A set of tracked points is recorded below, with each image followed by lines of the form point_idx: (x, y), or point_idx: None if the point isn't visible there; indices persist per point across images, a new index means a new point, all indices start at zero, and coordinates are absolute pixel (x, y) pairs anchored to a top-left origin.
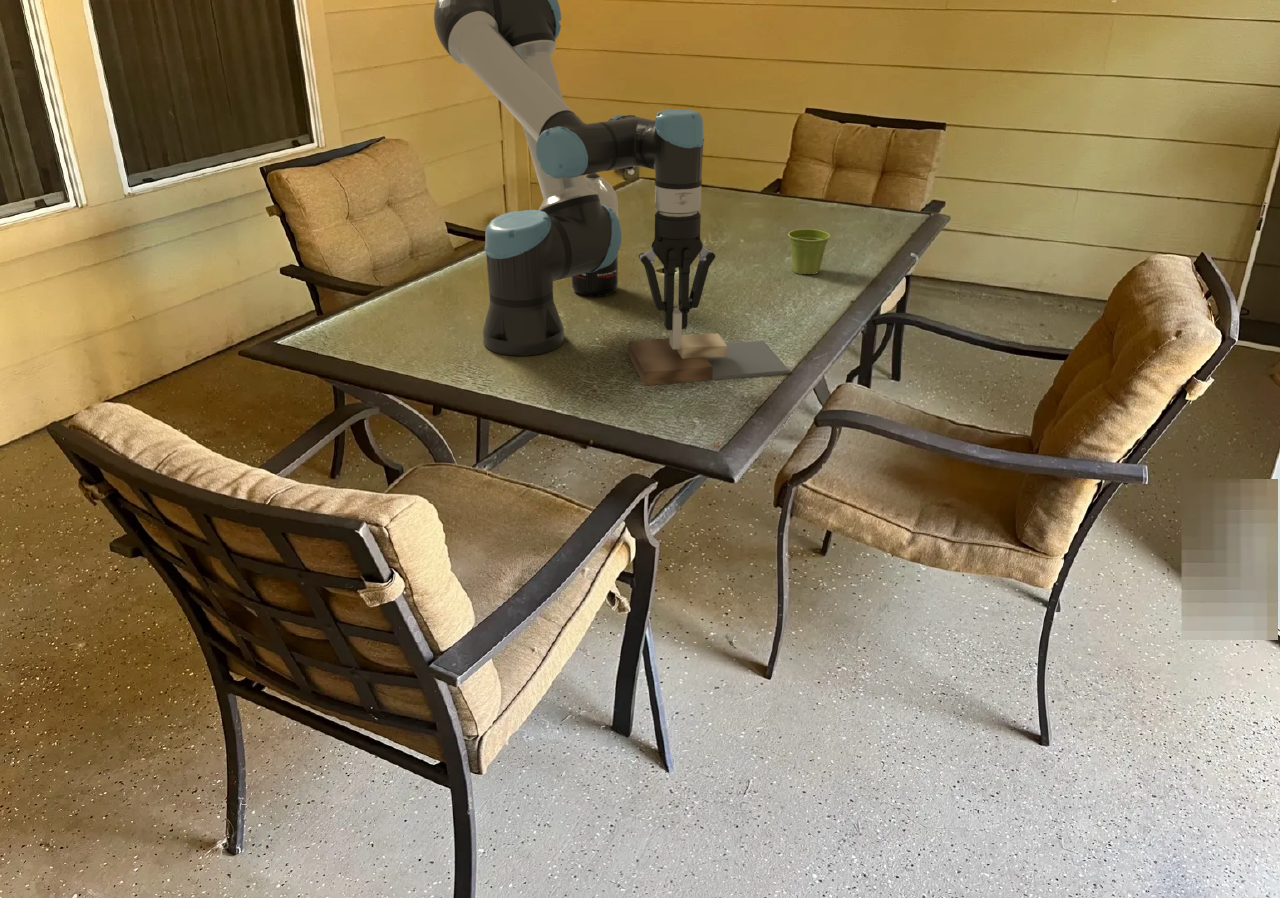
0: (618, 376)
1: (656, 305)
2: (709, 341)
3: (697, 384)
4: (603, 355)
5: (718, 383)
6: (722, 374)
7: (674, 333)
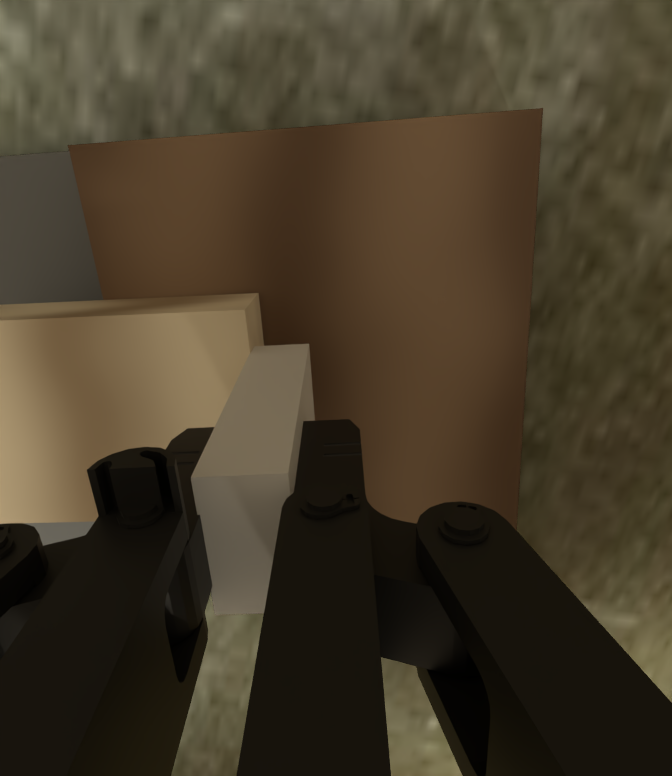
0: (618, 269)
1: (521, 541)
2: (52, 406)
3: (200, 94)
4: (612, 521)
5: (73, 92)
6: (37, 175)
7: (291, 384)
